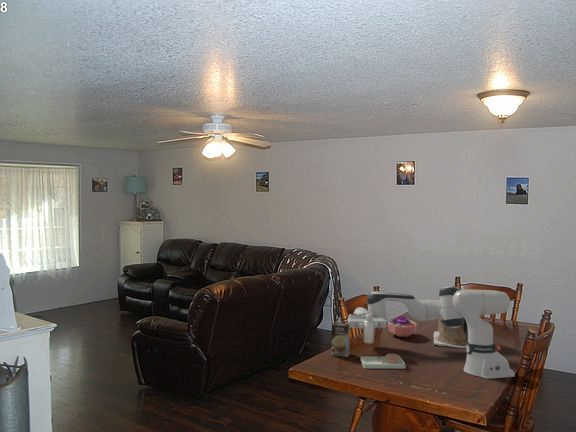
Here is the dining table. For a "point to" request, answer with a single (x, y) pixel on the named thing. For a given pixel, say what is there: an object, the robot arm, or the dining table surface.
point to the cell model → (402, 326)
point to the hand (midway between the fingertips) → (369, 326)
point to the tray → (380, 363)
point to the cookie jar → (451, 335)
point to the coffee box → (340, 339)
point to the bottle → (369, 329)
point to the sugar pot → (392, 358)
